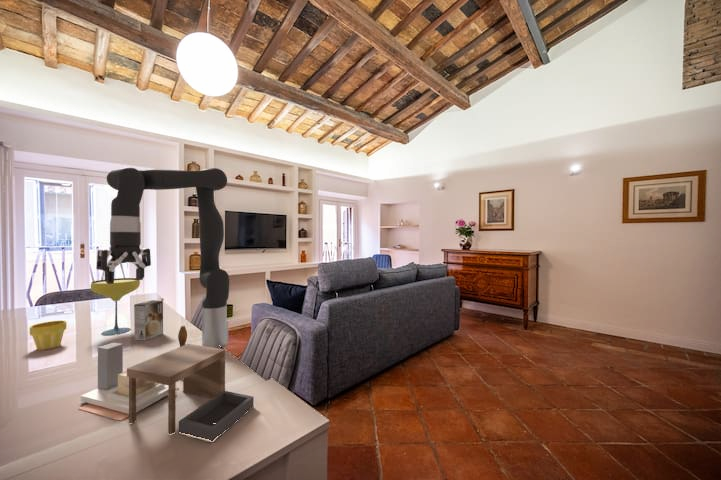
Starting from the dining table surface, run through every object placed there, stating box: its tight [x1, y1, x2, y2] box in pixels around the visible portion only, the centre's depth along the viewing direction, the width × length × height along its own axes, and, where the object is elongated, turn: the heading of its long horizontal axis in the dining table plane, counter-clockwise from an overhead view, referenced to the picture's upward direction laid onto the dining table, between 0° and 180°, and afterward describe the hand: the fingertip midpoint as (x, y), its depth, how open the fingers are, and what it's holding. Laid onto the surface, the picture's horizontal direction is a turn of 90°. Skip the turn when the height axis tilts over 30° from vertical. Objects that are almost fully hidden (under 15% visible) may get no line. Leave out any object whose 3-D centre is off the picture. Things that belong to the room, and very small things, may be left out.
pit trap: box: [178, 390, 255, 441], centre depth 71 cm, size 14×10×3 cm
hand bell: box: [177, 325, 188, 347], centre depth 96 cm, size 8×8×16 cm
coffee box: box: [133, 300, 164, 341], centre depth 130 cm, size 9×6×16 cm
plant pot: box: [29, 320, 67, 351], centre depth 117 cm, size 10×10×10 cm
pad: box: [78, 387, 179, 421], centre depth 81 cm, size 16×16×1 cm
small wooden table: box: [126, 343, 226, 434], centre depth 75 cm, size 17×14×14 cm
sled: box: [80, 342, 168, 414], centre depth 81 cm, size 12×20×14 cm, turn 73°
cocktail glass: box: [90, 277, 141, 336], centre depth 137 cm, size 18×18×25 cm
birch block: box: [118, 370, 155, 397], centre depth 80 cm, size 6×6×6 cm
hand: (125, 281), depth 90 cm, fingers open, 8 cm apart
